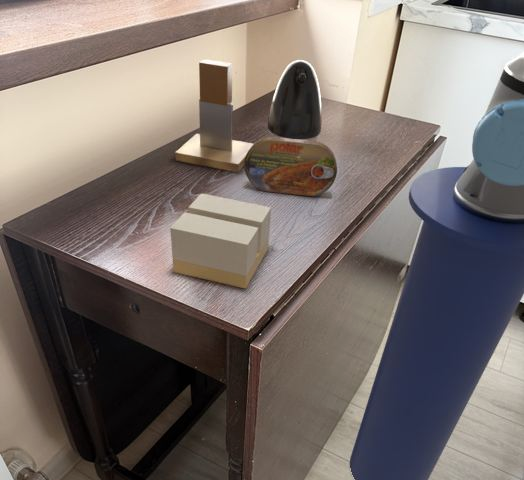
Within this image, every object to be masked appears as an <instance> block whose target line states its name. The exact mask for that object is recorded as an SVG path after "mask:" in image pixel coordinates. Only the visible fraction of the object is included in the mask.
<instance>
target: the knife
mask: <svg viewBox="0 0 524 480" xmlns="http://www.w3.org/2000/svg"><path fill="white" fill-rule="evenodd" d="M198 71H199V72H198V74H199V81H198V82H199V99H198V106H199V107H198V114H199V115H198V116H199V134H200V146H204V147H209V148H215V149H220V150H226V151H232V140H233V131H234V130H233V129H234V128H233V127H234V125H233V123H234V122H233V121H234V103H232V102H233V63H231V62H225V61H219V60H213V59H207V58H204V59H202V60H201V61H199V62H198Z"/></svg>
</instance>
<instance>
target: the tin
mask: <svg viewBox="0 0 524 480" xmlns="http://www.w3.org/2000/svg"><path fill="white" fill-rule="evenodd" d="M252 144H253V145H252V147H251V148H250V149H249V151H248V152H247V154H246V157H245V161H244V166H243V168H244V173H245V175H246V178H247V180H248V181H249V182H250V184H251V185H252V186H254V187H255V188H256V189H258V190H260V191H263V192H268V193H277V194H285V195H295V196H306V197H318V196H319V195H322V194H324V193H326V192H327V191H328V190H330V189H331V187H332V186H333V184H334V183H335V181H336V178H337V174H338V166H337V165H338V164H337V159H336V157H335V154H334V151H332V149H331V148H330V147H329V146H328V145H326V144H325V143H323V142H320V141H318V140H316V141H308V140H298V139H288V138H278V137H271V136H265V137H263V138H260V139H258V140H257V141H255V142H254V143H252Z"/></svg>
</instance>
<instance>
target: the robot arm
mask: <svg viewBox="0 0 524 480" xmlns="http://www.w3.org/2000/svg"><path fill="white" fill-rule="evenodd" d="M471 152H472V157H473V160H472V161H471V162H470V164H468V165H466V166H465V167H466V169H465V170H464V171H465V172H464V171H463V172H464V173H463V174H462V176H461V177H460V179H459V180H458V181H457V183H456V185H455V188H454V191H453V199H454V201H455V202H456V203H457V204H458V205H459V206H460V207H461V208H462V209H464V210H465V211H467V212H469V213H471V214H473V215H475V216H478V217H480V218H483V219H486V220H490V221H494V222H499V223H506V224H523V223H524V51H523V52H522V53H521V54H520V55H518V56H516V57H515V58H513V59H511V60H510V61H508V62H507V63H506V64H505V66H504V68H503V70H502V73H501V75H500V78H499V80H498V82H497V84H496V87H495V88H494V91H493V94H492V96H491V98H490V101H489V104H488V106H487V108H486V110H485V113H484V115H483V116H482V117H481V119H480V120H479V121H478V122H477V124H476V126H475V129H474V131H473V136H472V141H471Z"/></svg>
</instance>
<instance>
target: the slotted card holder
mask: <svg viewBox="0 0 524 480" xmlns="http://www.w3.org/2000/svg"><path fill="white" fill-rule="evenodd" d="M271 215H272V207H271V206H266V205H261V204H257V203H252V202H251V203H250V202H247V201H242V200H237V199H236V200H235V199H231V198H226V197H221V196H217V195H211V194H207V193H199V195H198V196H197V197H196V198H195V199H194V200H193V202H192V203H190V205H189V206H188V212H185V211H184V212H183V213H182V214H181V215H180V216H179V218H178V219H177V220H175V222H174V223H173V224H172V225H171V226H170V229H169V231H170V242H171V243H170V244H171V245H170V246H171V255H172V256H171V257H172V269H173V273H176V274H181V275H185V276H189V277H193V278H199V279H203V280H207V281H211V282H216V283H220V284H225V285H228V286H232V287H237V288H241V289H245V290H246V289H247V287H248V286H249V284H250V282H251V280H252V279H253V277H254V274H255V273H256V271H257V270H258V268H259V266H260V264H261V263H262V261H263V259H264V257H265V256H266V254H267V252H268V250H269V242H270V241H269V240H270V229H271V228H270V227H271V217H272V216H271Z"/></svg>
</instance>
